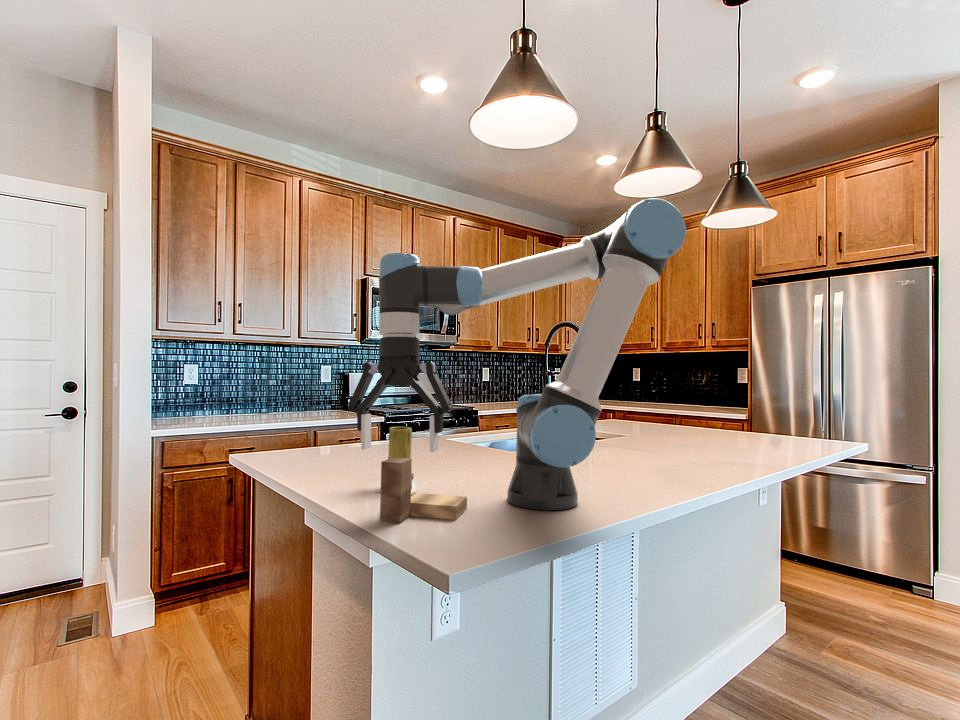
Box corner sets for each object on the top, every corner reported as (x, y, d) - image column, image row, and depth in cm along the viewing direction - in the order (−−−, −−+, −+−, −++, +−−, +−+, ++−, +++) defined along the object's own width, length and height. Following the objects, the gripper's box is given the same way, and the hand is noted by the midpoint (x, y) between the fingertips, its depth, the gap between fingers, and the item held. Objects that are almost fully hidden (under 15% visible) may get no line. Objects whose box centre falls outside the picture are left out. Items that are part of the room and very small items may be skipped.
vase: (405, 492, 120) (407, 429, 120) (381, 490, 122) (382, 428, 122) (416, 486, 126) (417, 427, 126) (392, 484, 128) (394, 426, 128)
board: (466, 509, 107) (467, 496, 107) (455, 519, 99) (456, 506, 99) (402, 503, 110) (402, 491, 110) (386, 513, 102) (386, 500, 102)
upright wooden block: (419, 509, 105) (420, 454, 106) (400, 523, 96) (401, 463, 96) (400, 508, 106) (401, 453, 107) (379, 521, 97) (381, 461, 97)
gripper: (468, 336, 100) (468, 448, 100) (348, 339, 106) (348, 444, 105) (457, 334, 93) (457, 454, 92) (329, 336, 99) (329, 450, 98)
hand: (399, 449), depth 99 cm, fingers open, 13 cm apart
